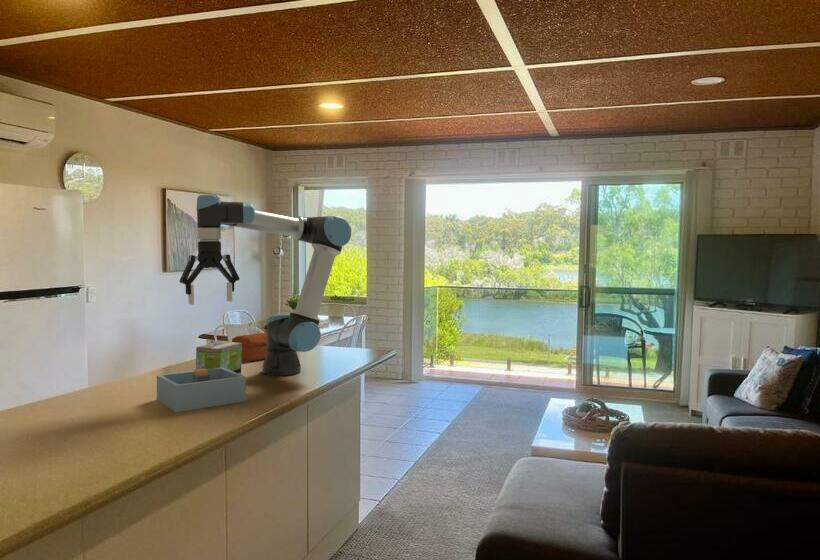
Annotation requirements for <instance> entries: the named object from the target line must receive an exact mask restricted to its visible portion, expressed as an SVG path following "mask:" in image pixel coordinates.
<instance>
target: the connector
mask: <svg viewBox="0 0 820 560" xmlns="http://www.w3.org/2000/svg"><path fill="white" fill-rule="evenodd" d="M193 371H194V374H193V383H194V382H202V381H210V375H209V374H208V370H207V369H196V368H195V369H194V370H193Z"/></svg>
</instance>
